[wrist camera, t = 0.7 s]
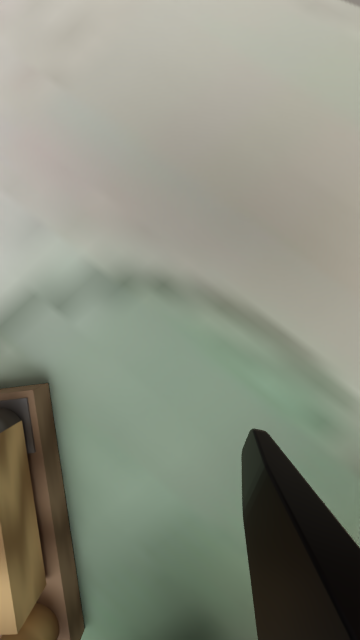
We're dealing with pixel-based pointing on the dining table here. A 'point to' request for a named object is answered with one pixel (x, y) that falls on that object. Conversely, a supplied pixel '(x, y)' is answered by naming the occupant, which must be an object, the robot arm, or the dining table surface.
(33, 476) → the stool seat
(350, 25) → the dining table surface
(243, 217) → the dining table surface
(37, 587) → the folding leg
